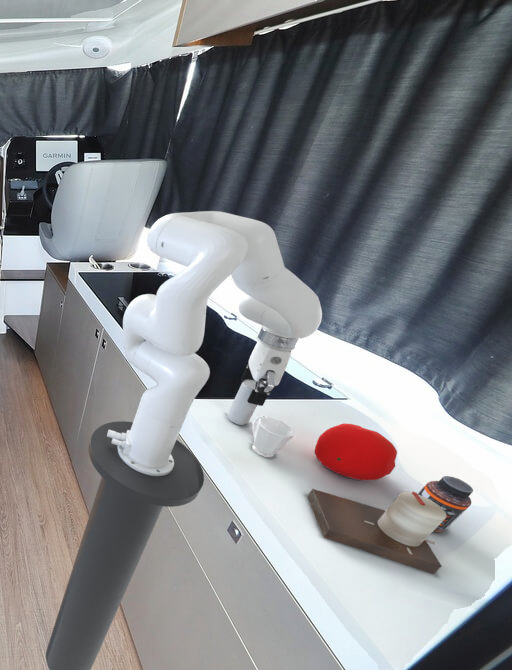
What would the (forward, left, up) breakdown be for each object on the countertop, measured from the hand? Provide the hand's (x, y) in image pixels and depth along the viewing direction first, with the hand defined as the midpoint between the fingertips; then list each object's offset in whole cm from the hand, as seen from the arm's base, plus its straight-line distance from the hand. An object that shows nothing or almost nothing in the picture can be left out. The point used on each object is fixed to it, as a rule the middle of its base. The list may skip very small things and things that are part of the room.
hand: (251, 392), depth 109 cm
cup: (+3, -10, -9) cm, 14 cm away
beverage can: (0, 0, -9) cm, 9 cm away
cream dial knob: (+22, -28, -7) cm, 36 cm away
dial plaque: (+18, -28, -9) cm, 35 cm away
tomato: (+20, -9, -9) cm, 24 cm away
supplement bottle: (+30, -19, -10) cm, 37 cm away
